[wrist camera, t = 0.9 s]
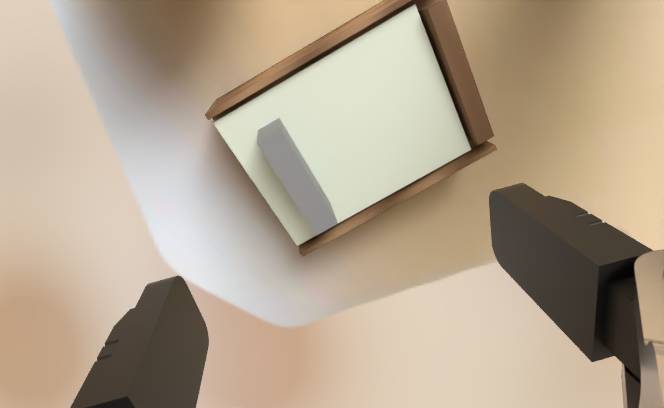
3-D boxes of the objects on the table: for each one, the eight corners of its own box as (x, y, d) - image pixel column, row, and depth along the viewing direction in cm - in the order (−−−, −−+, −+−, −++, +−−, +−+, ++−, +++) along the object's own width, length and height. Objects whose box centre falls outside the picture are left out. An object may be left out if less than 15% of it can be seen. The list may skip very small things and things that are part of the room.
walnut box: (403, -12, 29) (438, -23, 23) (458, 130, 34) (499, 150, 28) (216, 99, 30) (204, 115, 24) (296, 220, 35) (302, 258, 29)
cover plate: (412, 4, 25) (437, -1, 21) (467, 147, 29) (496, 164, 25) (213, 121, 26) (204, 136, 22) (296, 242, 30) (300, 271, 26)
